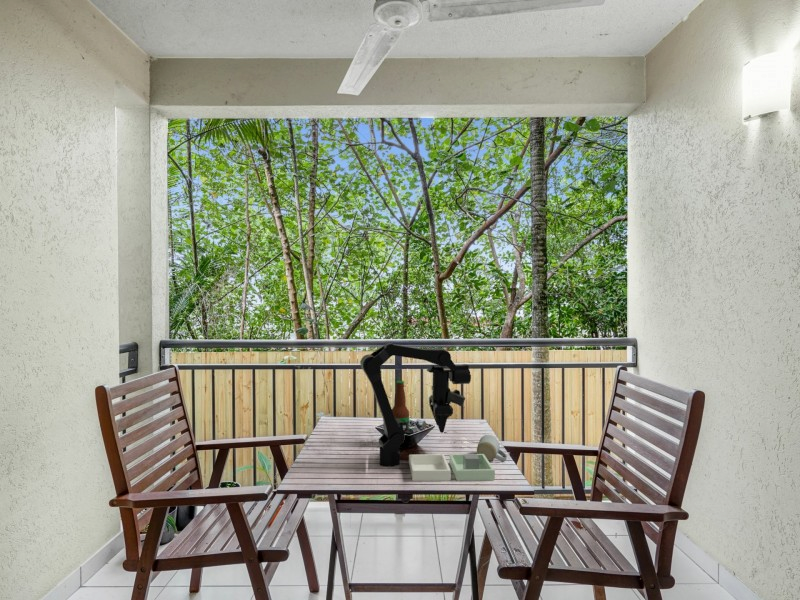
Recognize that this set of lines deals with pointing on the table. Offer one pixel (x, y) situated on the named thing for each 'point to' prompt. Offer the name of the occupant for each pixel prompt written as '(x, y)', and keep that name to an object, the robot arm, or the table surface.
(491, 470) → the green bin
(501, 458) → the ceramic mug
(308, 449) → the table surface
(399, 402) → the bottle
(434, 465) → the cream bin
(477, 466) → the stone block
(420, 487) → the table surface
